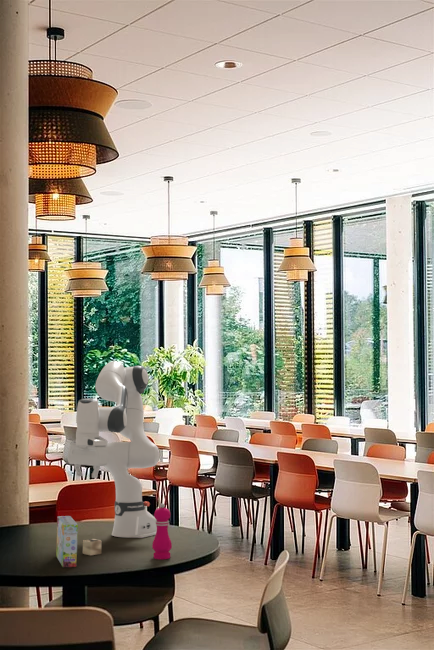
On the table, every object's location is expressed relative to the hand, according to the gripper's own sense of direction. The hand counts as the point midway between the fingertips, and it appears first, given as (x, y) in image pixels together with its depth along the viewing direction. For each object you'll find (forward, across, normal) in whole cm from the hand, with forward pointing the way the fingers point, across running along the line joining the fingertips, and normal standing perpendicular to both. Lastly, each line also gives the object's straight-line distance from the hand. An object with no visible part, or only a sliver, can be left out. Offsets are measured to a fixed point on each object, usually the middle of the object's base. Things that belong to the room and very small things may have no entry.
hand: (86, 477), depth 350 cm
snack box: (+29, +9, -16) cm, 34 cm away
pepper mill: (+29, +28, +13) cm, 43 cm away
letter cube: (+29, +4, 0) cm, 29 cm away
